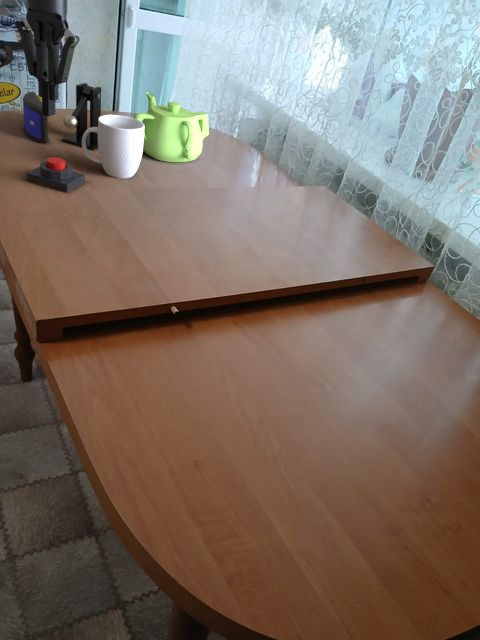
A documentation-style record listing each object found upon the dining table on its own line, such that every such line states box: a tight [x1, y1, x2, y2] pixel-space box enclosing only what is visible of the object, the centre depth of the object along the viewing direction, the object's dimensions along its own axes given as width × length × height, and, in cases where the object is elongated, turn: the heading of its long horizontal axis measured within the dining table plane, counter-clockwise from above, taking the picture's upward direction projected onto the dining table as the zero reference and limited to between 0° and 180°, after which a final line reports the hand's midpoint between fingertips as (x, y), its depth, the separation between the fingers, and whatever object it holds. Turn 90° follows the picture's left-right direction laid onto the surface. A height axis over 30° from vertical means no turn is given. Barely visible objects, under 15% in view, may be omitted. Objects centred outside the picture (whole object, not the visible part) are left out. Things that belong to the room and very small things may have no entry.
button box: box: [26, 160, 86, 193], centre depth 127 cm, size 10×8×4 cm
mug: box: [81, 114, 144, 179], centre depth 136 cm, size 15×11×13 cm
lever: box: [63, 85, 95, 130], centre depth 144 cm, size 14×3×3 cm, turn 166°
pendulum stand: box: [62, 82, 102, 151], centre depth 149 cm, size 12×9×15 cm
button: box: [46, 157, 66, 170], centre depth 126 cm, size 4×4×2 cm
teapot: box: [133, 91, 210, 163], centre depth 154 cm, size 19×20×14 cm
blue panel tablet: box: [22, 91, 49, 144], centre depth 147 cm, size 16×5×9 cm, turn 28°
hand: (48, 114), depth 119 cm, fingers closed
